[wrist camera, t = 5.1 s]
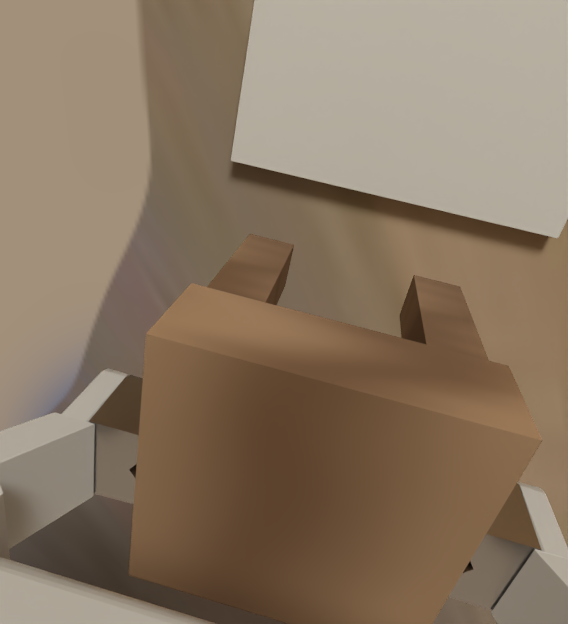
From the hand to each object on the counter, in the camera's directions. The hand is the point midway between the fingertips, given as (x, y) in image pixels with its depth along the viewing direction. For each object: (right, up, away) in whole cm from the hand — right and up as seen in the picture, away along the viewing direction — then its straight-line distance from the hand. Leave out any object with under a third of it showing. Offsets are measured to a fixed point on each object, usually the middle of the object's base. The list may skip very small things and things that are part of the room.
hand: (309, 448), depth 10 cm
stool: (+1, +2, +4) cm, 4 cm away
